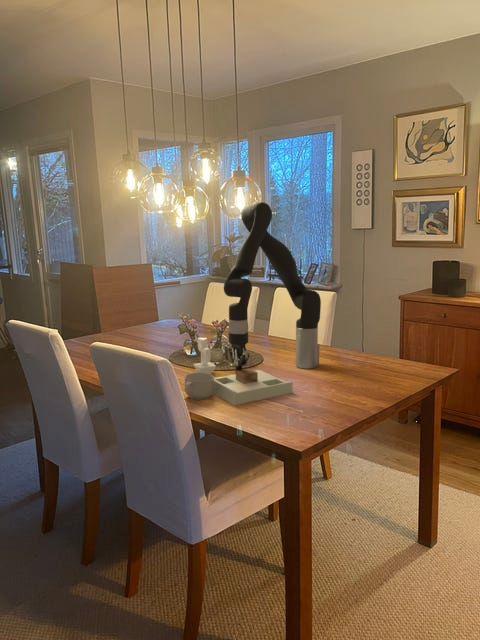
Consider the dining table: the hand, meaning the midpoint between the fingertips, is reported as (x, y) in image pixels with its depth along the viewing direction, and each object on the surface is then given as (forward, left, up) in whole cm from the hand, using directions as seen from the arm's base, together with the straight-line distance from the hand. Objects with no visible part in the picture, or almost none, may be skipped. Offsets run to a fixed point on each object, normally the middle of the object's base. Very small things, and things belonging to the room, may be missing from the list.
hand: (238, 374), depth 206 cm
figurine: (+4, -21, -4) cm, 22 cm away
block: (0, +5, -1) cm, 5 cm away
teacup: (+20, +5, -4) cm, 22 cm away
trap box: (0, +7, -4) cm, 8 cm away
